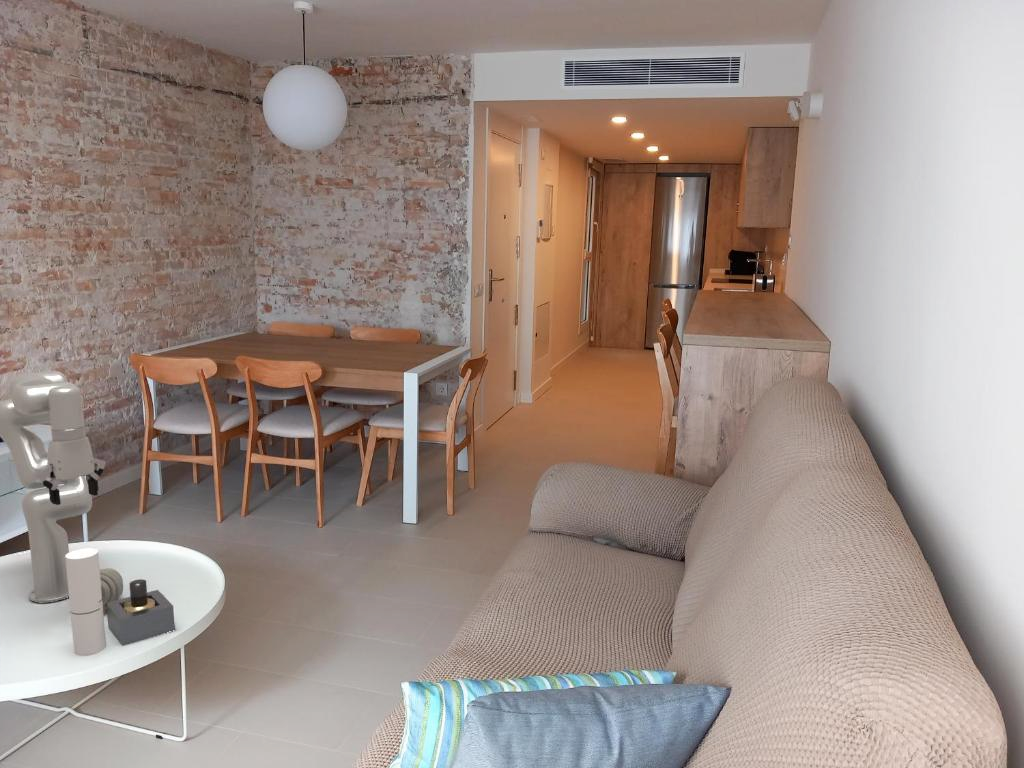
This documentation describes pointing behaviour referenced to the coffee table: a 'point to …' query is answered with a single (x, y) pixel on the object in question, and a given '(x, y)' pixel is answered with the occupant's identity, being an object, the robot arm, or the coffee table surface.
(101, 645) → the cylindrical container
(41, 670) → the coffee table surface
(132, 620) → the block
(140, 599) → the stepped cylindrical shaft
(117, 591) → the toy sheep
